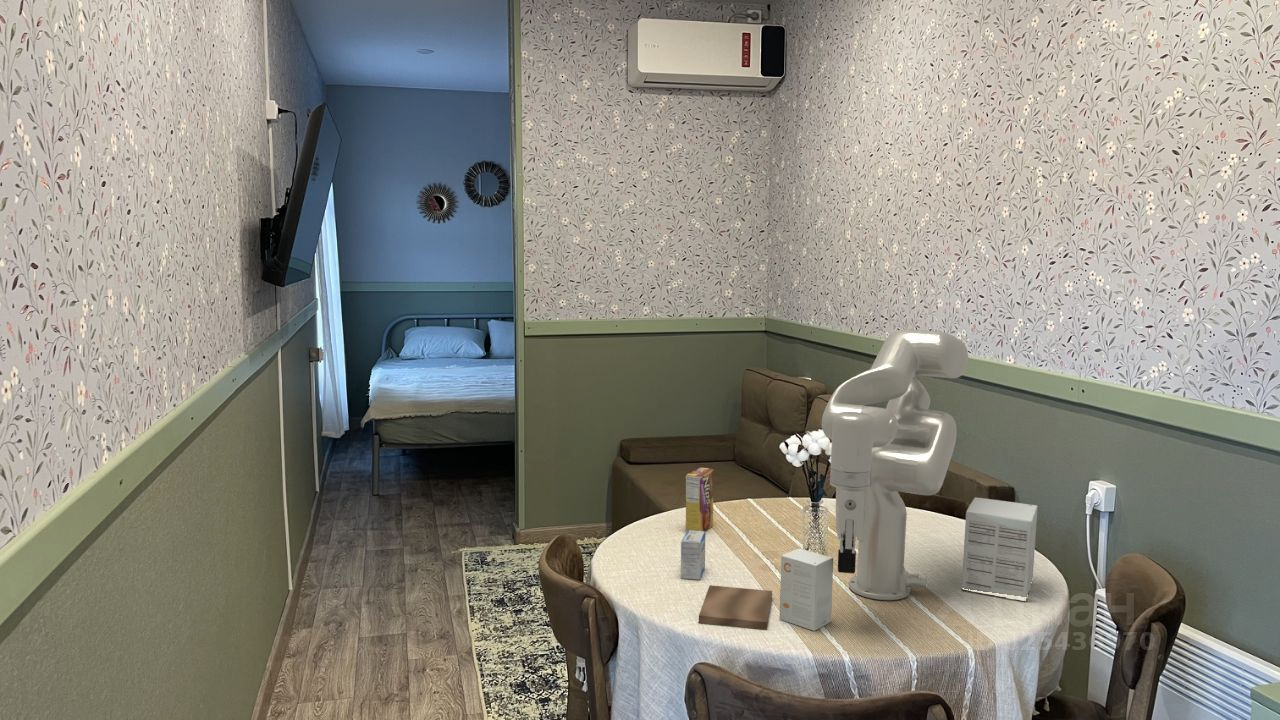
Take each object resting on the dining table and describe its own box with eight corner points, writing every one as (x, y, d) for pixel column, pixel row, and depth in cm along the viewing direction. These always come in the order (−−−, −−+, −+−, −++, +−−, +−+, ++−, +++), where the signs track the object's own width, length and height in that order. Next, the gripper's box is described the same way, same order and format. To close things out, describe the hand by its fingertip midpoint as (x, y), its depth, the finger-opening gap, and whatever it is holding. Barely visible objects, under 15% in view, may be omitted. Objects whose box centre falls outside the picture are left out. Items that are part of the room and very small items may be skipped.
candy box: (698, 523, 235) (699, 466, 233) (713, 526, 233) (715, 468, 231) (684, 533, 227) (685, 474, 225) (699, 536, 225) (701, 476, 223)
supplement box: (969, 571, 203) (974, 496, 200) (1033, 582, 196) (1038, 504, 194) (959, 591, 191) (964, 511, 189) (1027, 603, 185) (1032, 520, 183)
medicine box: (700, 580, 195) (701, 542, 194) (680, 579, 196) (680, 540, 195) (705, 568, 202) (706, 531, 201) (685, 566, 203) (686, 529, 202)
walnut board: (772, 597, 186) (772, 590, 185) (766, 629, 170) (767, 622, 170) (709, 592, 188) (709, 585, 188) (698, 623, 173) (698, 615, 173)
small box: (831, 622, 174) (834, 557, 172) (814, 632, 169) (816, 565, 168) (796, 610, 180) (798, 547, 178) (778, 619, 175) (780, 555, 173)
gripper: (873, 489, 161) (868, 587, 164) (869, 469, 176) (864, 560, 178) (830, 486, 163) (826, 583, 165) (829, 467, 177) (825, 556, 180)
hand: (846, 571), depth 172 cm, fingers closed
